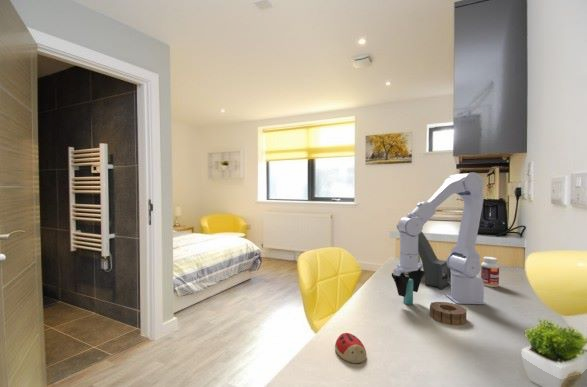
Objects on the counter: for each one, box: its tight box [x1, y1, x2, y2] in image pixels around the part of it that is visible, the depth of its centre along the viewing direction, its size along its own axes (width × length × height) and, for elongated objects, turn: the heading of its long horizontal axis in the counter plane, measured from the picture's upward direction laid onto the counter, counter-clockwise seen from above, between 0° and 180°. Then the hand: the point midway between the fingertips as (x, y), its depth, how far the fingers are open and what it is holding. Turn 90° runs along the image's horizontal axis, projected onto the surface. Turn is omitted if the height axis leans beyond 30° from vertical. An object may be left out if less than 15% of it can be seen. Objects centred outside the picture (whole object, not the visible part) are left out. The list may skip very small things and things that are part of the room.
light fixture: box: [418, 231, 451, 290], centre depth 126 cm, size 11×17×24 cm, turn 45°
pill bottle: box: [480, 256, 500, 288], centre depth 123 cm, size 6×6×11 cm
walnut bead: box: [429, 301, 467, 326], centre depth 91 cm, size 10×10×3 cm
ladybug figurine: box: [334, 332, 367, 364], centre depth 71 cm, size 7×10×4 cm
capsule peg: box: [402, 278, 414, 306], centre depth 102 cm, size 3×3×8 cm
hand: (408, 293), depth 102 cm, fingers open, 7 cm apart
